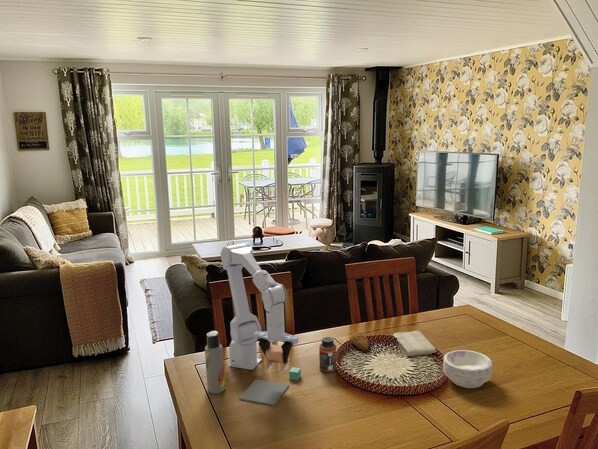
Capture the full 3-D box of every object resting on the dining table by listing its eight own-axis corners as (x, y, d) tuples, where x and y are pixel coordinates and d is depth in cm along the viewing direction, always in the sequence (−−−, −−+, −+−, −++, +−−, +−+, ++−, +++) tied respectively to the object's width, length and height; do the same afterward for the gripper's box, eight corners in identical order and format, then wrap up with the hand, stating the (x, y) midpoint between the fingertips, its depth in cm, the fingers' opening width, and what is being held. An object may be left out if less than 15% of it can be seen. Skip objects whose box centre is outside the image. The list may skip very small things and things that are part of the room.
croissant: (345, 339, 195) (345, 327, 194) (361, 336, 196) (361, 325, 195) (357, 354, 182) (357, 341, 181) (374, 351, 184) (374, 339, 183)
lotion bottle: (228, 386, 161) (224, 330, 157) (220, 395, 156) (216, 337, 152) (212, 383, 163) (209, 328, 159) (204, 392, 158) (200, 335, 154)
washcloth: (418, 335, 198) (418, 328, 197) (437, 355, 180) (438, 347, 180) (390, 337, 196) (390, 330, 195) (407, 358, 178) (407, 350, 178)
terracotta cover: (266, 368, 158) (265, 351, 156) (272, 361, 163) (272, 344, 162) (281, 371, 156) (281, 353, 155) (288, 363, 161) (287, 346, 160)
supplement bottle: (335, 374, 168) (335, 343, 165) (318, 372, 169) (317, 342, 166) (337, 365, 173) (337, 336, 171) (321, 364, 174) (320, 335, 172)
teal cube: (289, 379, 165) (289, 371, 164) (292, 375, 168) (292, 367, 167) (297, 380, 164) (297, 372, 163) (300, 376, 167) (300, 368, 166)
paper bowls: (456, 365, 171) (457, 344, 170) (499, 380, 161) (500, 358, 159) (434, 381, 161) (434, 359, 159) (478, 399, 150) (479, 375, 149)
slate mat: (239, 399, 153) (239, 398, 153) (255, 380, 164) (255, 379, 164) (274, 406, 149) (274, 404, 149) (288, 386, 160) (288, 385, 160)
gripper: (249, 324, 155) (251, 363, 158) (292, 329, 150) (293, 370, 153) (258, 316, 161) (260, 354, 164) (299, 321, 157) (300, 360, 159)
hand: (276, 361), depth 159 cm, fingers closed on terracotta cover, 5 cm apart
